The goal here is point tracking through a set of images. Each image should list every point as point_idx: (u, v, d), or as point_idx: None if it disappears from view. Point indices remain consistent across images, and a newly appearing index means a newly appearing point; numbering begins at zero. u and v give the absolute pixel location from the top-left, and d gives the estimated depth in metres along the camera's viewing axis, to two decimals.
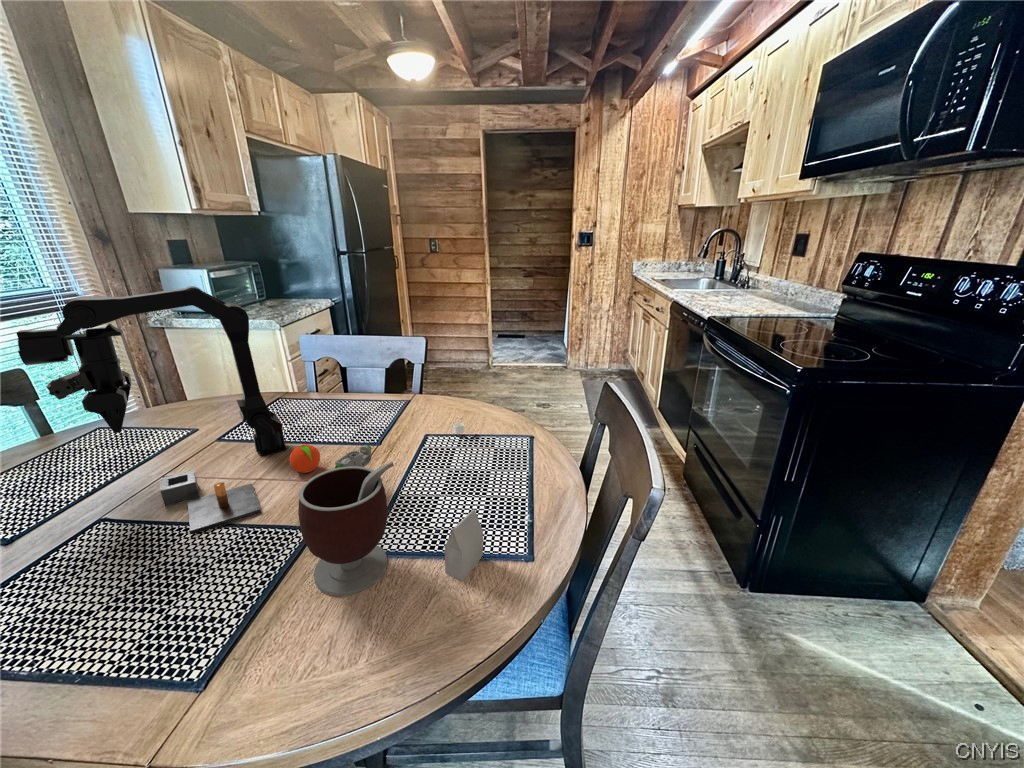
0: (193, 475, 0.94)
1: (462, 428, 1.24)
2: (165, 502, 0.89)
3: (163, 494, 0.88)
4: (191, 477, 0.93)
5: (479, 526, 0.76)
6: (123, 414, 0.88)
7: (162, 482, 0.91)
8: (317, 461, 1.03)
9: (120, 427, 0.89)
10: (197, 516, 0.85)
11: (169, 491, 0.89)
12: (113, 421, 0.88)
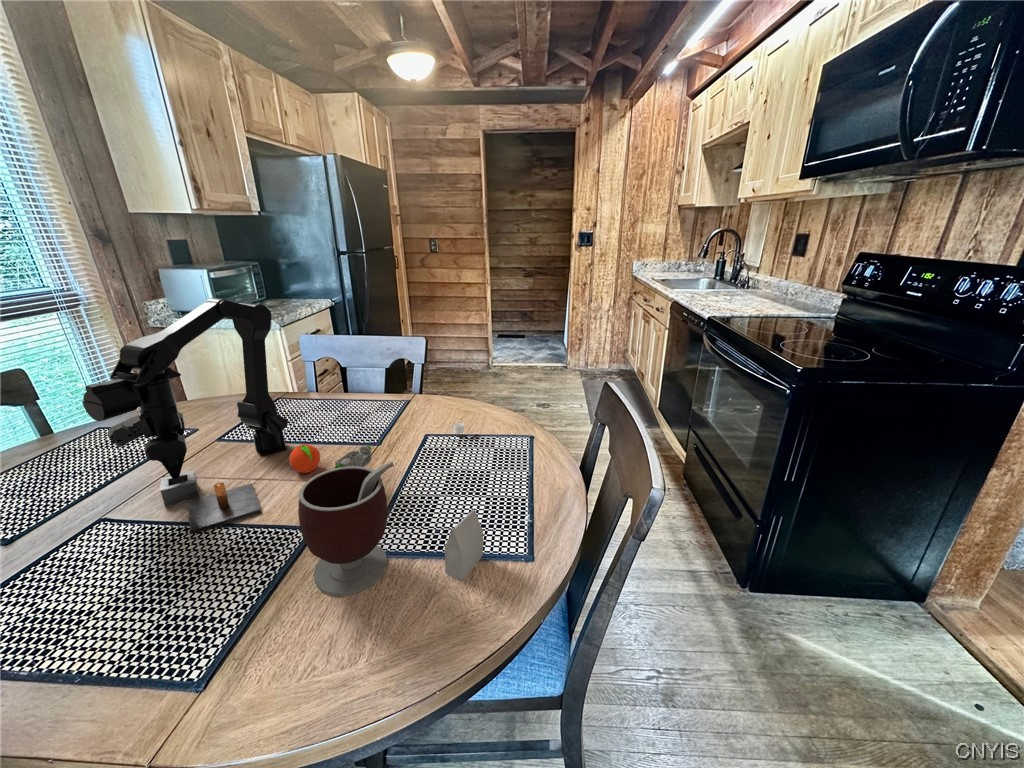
0: (193, 475, 0.94)
1: (462, 428, 1.24)
2: (165, 502, 0.89)
3: (163, 494, 0.88)
4: (191, 477, 0.93)
5: (479, 526, 0.76)
6: (182, 460, 0.86)
7: (162, 482, 0.91)
8: (317, 461, 1.03)
9: (178, 473, 0.87)
10: (197, 516, 0.85)
11: (169, 491, 0.89)
12: (172, 467, 0.86)
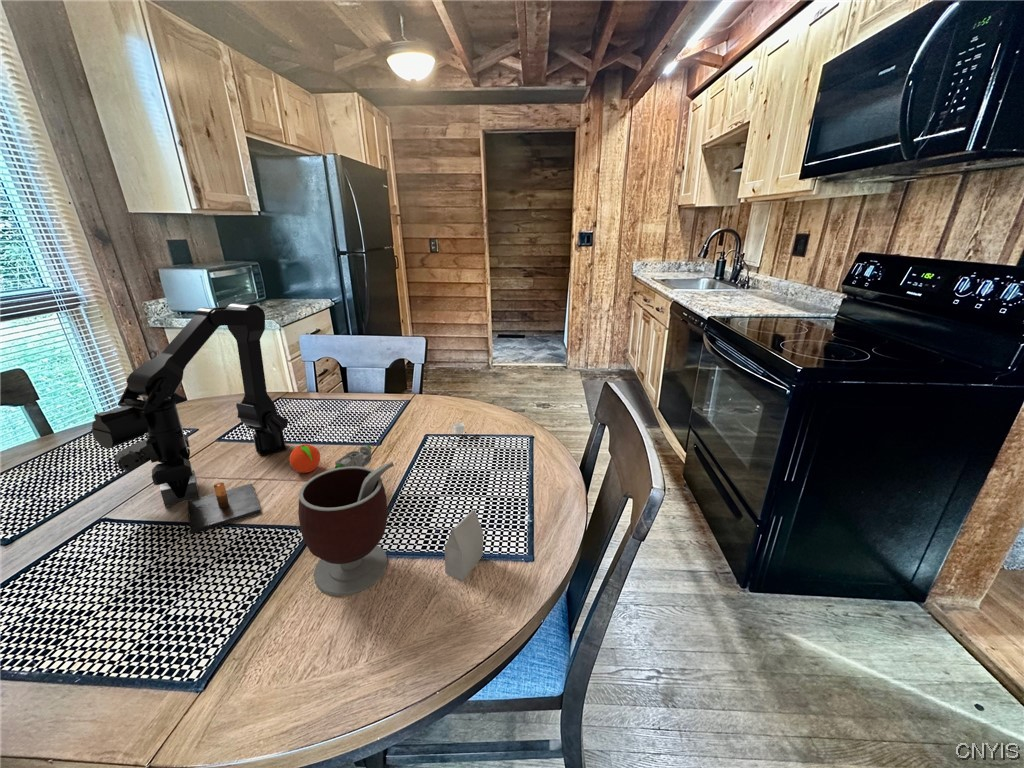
0: (193, 475, 0.94)
1: (462, 428, 1.24)
2: (165, 502, 0.89)
3: (163, 494, 0.88)
4: (191, 477, 0.93)
5: (479, 526, 0.76)
6: (188, 480, 0.89)
7: None
8: (317, 461, 1.03)
9: (184, 492, 0.90)
10: (197, 516, 0.85)
11: (169, 491, 0.89)
12: (178, 487, 0.89)
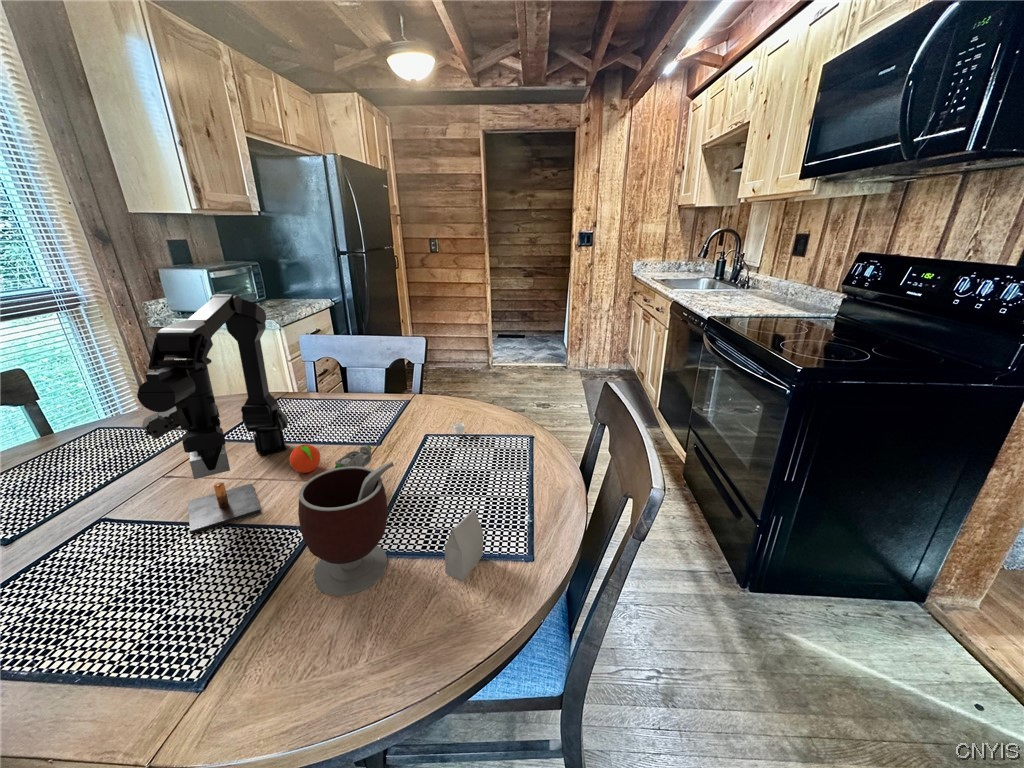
0: (223, 446, 0.87)
1: (462, 428, 1.24)
2: (194, 474, 0.82)
3: (192, 465, 0.81)
4: None
5: (479, 526, 0.76)
6: (219, 451, 0.82)
7: (191, 453, 0.84)
8: (317, 461, 1.03)
9: (215, 464, 0.83)
10: (197, 516, 0.85)
11: (199, 462, 0.82)
12: (208, 458, 0.81)
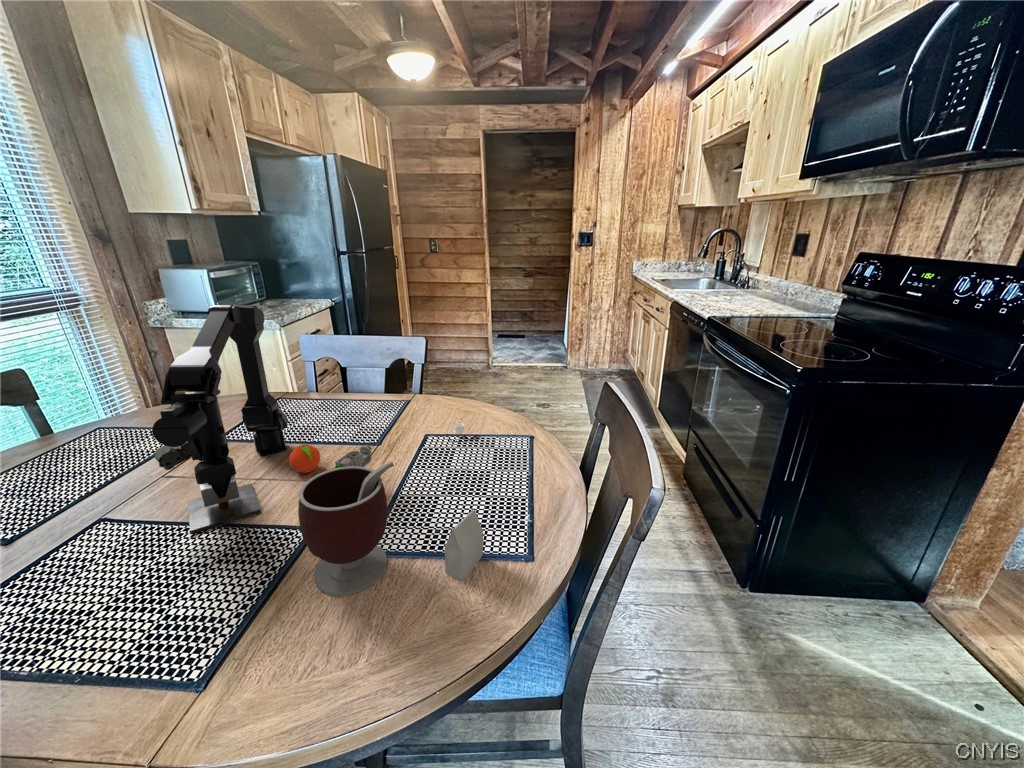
0: None
1: (462, 428, 1.24)
2: (205, 502, 0.84)
3: (203, 494, 0.83)
4: None
5: (479, 526, 0.76)
6: (229, 479, 0.84)
7: None
8: (317, 461, 1.03)
9: (225, 492, 0.85)
10: (197, 516, 0.85)
11: (209, 491, 0.84)
12: (219, 487, 0.84)
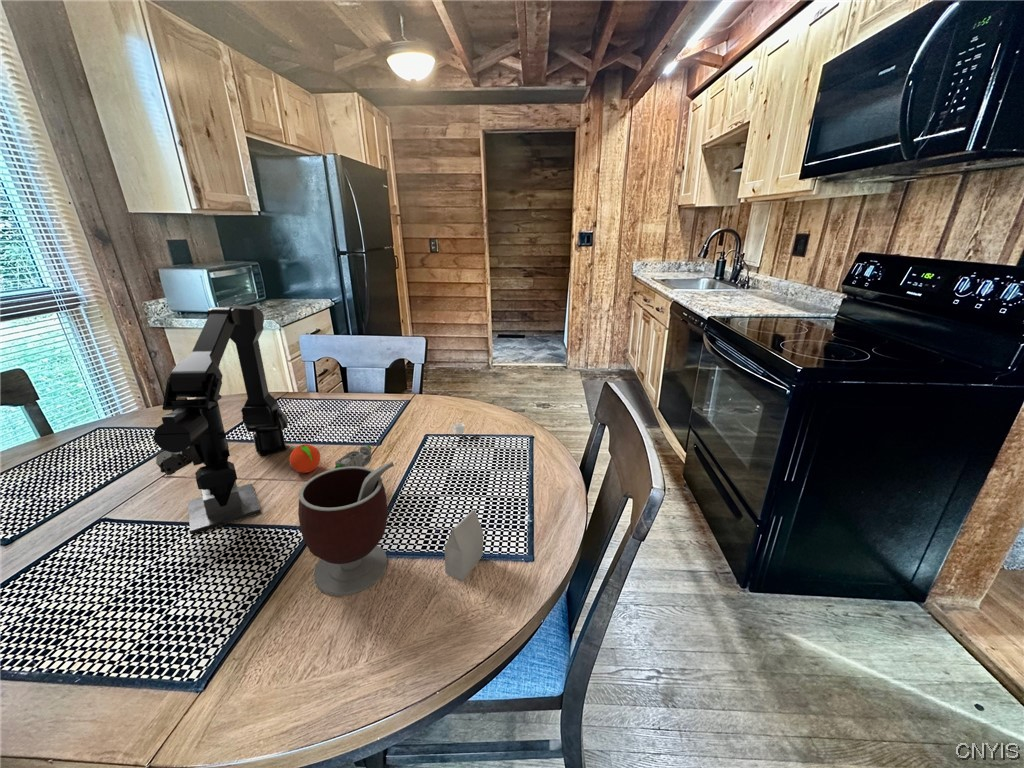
0: (234, 483, 0.90)
1: (462, 429, 1.23)
2: (207, 512, 0.85)
3: (206, 504, 0.84)
4: (233, 486, 0.89)
5: (479, 526, 0.76)
6: (231, 487, 0.83)
7: (203, 491, 0.86)
8: (317, 461, 1.03)
9: (226, 500, 0.84)
10: (197, 516, 0.85)
11: (212, 501, 0.84)
12: (221, 495, 0.83)
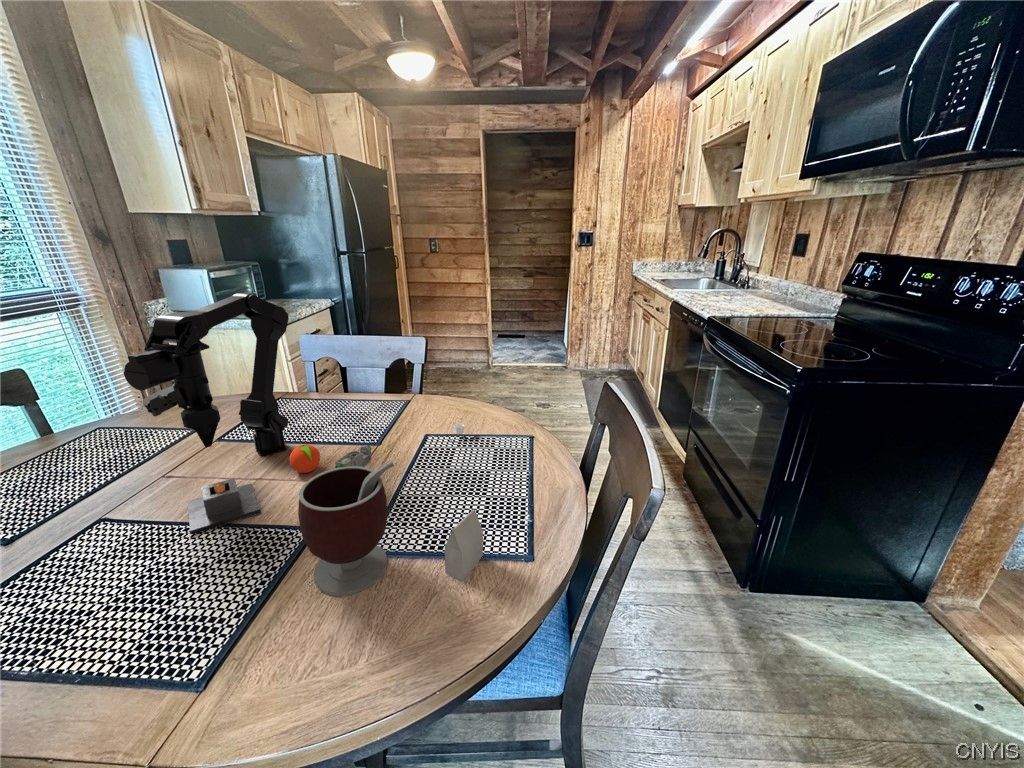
0: (234, 483, 0.90)
1: (462, 429, 1.23)
2: (207, 512, 0.85)
3: (206, 504, 0.84)
4: (233, 486, 0.89)
5: (479, 526, 0.76)
6: (215, 429, 0.89)
7: (203, 491, 0.86)
8: (317, 461, 1.03)
9: (211, 441, 0.91)
10: (197, 516, 0.85)
11: (212, 501, 0.84)
12: (205, 436, 0.89)
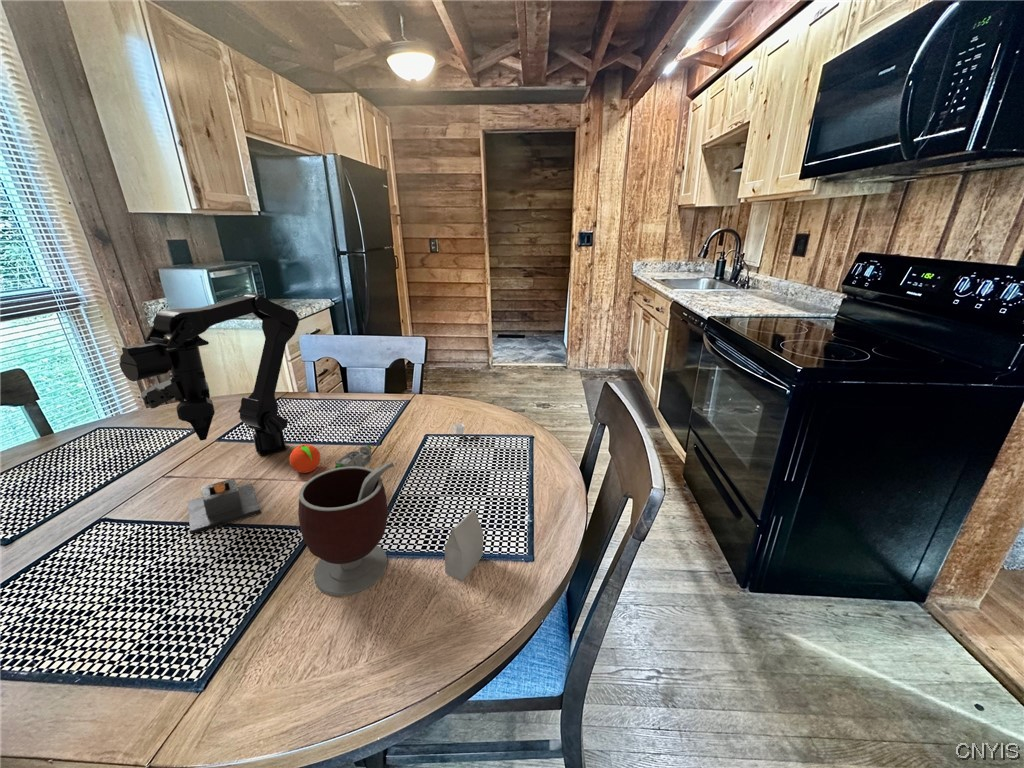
0: (234, 483, 0.90)
1: (462, 429, 1.23)
2: (207, 512, 0.85)
3: (206, 504, 0.84)
4: (233, 486, 0.89)
5: (479, 526, 0.76)
6: (210, 422, 0.91)
7: (203, 491, 0.86)
8: (317, 461, 1.03)
9: (206, 435, 0.93)
10: (197, 516, 0.85)
11: (212, 501, 0.84)
12: (200, 429, 0.91)
